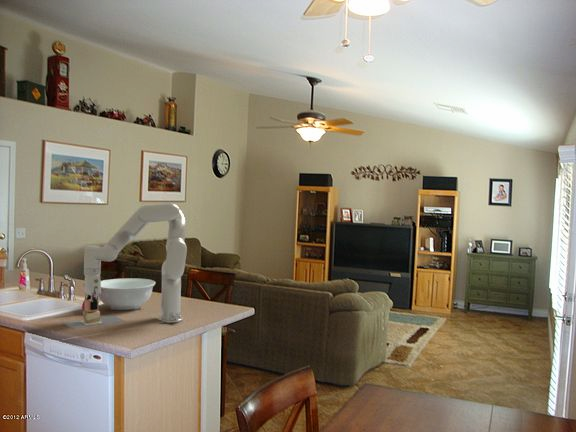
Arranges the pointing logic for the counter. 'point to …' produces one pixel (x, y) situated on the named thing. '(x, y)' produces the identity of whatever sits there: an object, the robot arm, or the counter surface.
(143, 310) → the counter surface
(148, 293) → the bowl
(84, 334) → the counter surface
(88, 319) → the maple block
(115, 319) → the board
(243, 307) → the counter surface
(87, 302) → the terracotta cube
